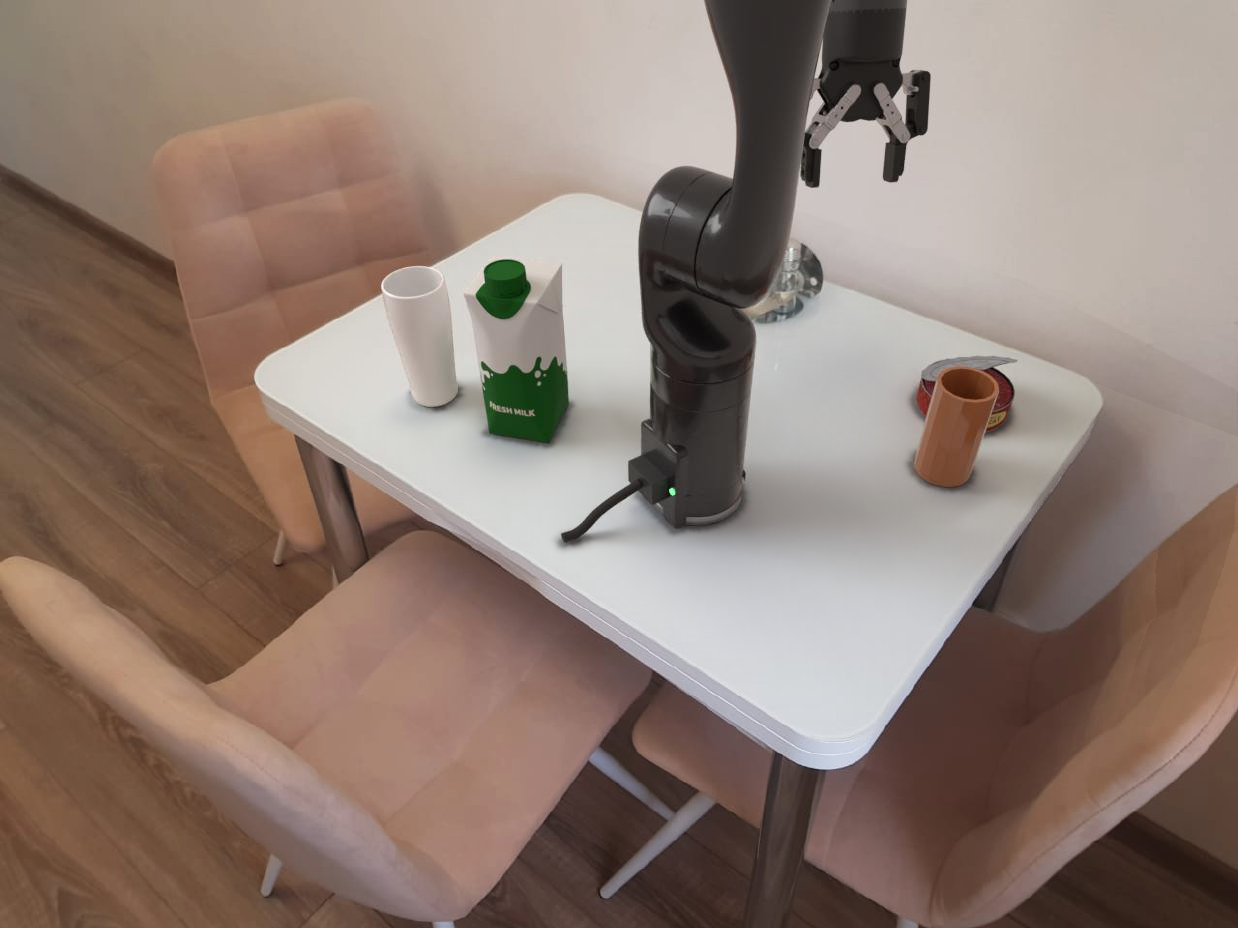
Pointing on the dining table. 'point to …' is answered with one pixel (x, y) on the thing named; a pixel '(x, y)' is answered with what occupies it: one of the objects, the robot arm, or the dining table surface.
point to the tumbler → (955, 425)
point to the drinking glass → (422, 332)
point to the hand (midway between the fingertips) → (851, 184)
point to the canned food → (976, 362)
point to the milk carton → (520, 345)
